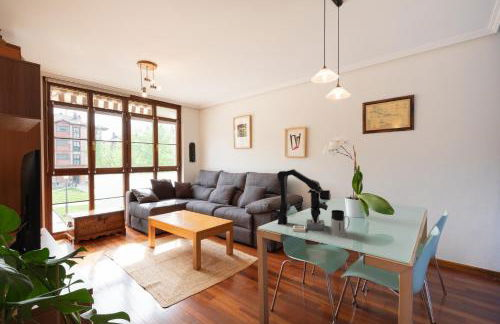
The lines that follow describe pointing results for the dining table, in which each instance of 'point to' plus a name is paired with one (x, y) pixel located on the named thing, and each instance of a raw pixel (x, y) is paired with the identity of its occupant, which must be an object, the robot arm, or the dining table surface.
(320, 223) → the port
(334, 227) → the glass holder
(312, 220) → the plug
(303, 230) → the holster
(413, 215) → the dining table surface
